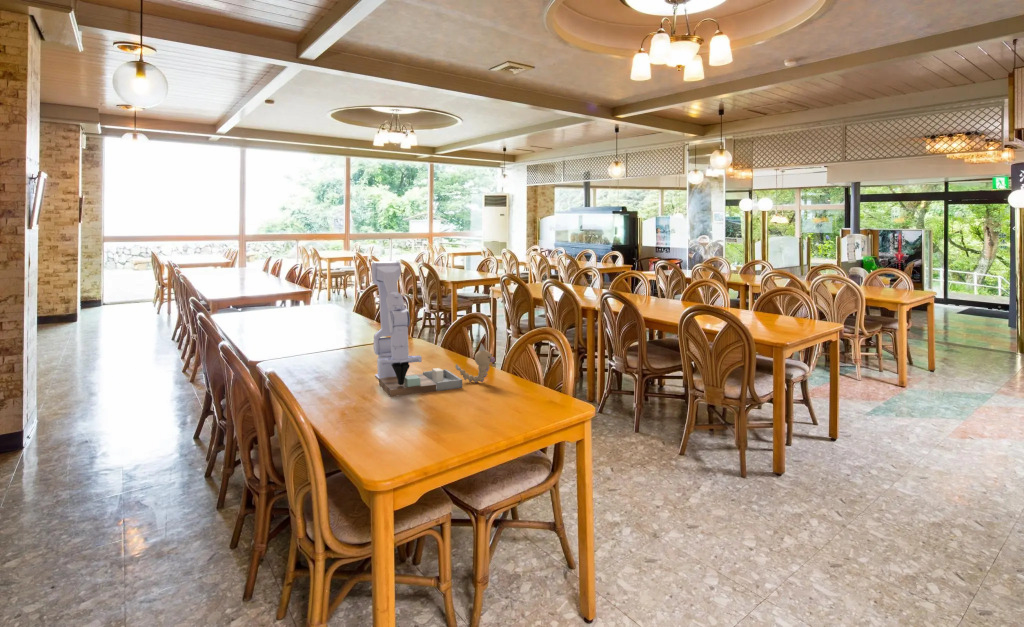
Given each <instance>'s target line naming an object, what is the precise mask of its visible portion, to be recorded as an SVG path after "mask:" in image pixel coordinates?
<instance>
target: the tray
mask: <svg viewBox="0 0 1024 627" xmlns="http://www.w3.org/2000/svg"><path fill="white" fill-rule="evenodd" d="M442 370H443V381H442V382H437V383H435V382H434V381H432V370H428V371H422V374H423V375H424V376H426V377H427V378H428V379H430V380H431V381H432V382H434V383H435V384H436V392H441V391H449V390H457V389H463V379H462V378H460V377H459V376H457V375H456V374H454V373H453V372H452V371H449V370H448V369H446V368H445V369H442Z"/></svg>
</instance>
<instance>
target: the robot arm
mask: <svg viewBox="0 0 1024 627" xmlns="http://www.w3.org/2000/svg"><path fill="white" fill-rule="evenodd" d="M401 274H402V267H401V263H400V261H398V260H393V261H391V260H389V261H383V260H382V261H375V260H374V261H372V263H371V281H372V284H374V285H376V286H377V290H378V299H379V300H378V302H379V319H380V329H379V330H378V331H376V332H375V334H374V335H373V344H372V345H373V352H374V354H375V355H377V359H376V364H377V373H375V374H374V376H375V377H376V378H377V379H378V380H379V378H386V377H395V376H397V380H398V384H399V385H404V379H405V376H406V375H407V373H408V370H409V368H410V363H422V360H423V359H422V356H421V355H409V327H410V324H411V318H410V312H409V310H408V308H407V307H406V305H405V301H404V298H403V295H402V294H401V293H400V292H399V288H398V287H399V286H398V281H399V279H400V277H401Z"/></svg>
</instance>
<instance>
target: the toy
mask: <svg viewBox="0 0 1024 627" xmlns="http://www.w3.org/2000/svg"><path fill="white" fill-rule="evenodd" d="M495 360H496V357H494V356H493V354H492V353H491V352H490V351H488V350H486V348H485V346H484V344H483V343H482V342H481V343H480V347H479V349H478V351H477V352H476V353H475V355H474V362H475V363H476V365H477V366H478V368H477V369H478V372H477V374H478V375H475V376H474V375H472V374H469V373H468V372H466V370H465V369H462V368H461V367H460V366H459V365H458V364H457V363H455V369H456V371H458V372H459V373H460V375H461V376H462V378H463V379H464V380H465V381H466V380H468V381H469V383H472V381H473V382H474V383H475V384H477V383H479V382H480V383H483V382H484V381H485V378H486V377H487V376H488V375H489V374H488V372H489V371H490V368H491V367H490V364H491V363H494V362H495Z"/></svg>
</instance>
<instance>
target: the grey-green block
mask: <svg viewBox="0 0 1024 627" xmlns="http://www.w3.org/2000/svg"><path fill="white" fill-rule="evenodd" d="M412 375H413V374H412ZM404 384H405V385H406V386H407V387H411V386H420V385H421V384H420V377H418V376H417V375H413V376H405V379H404Z"/></svg>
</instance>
